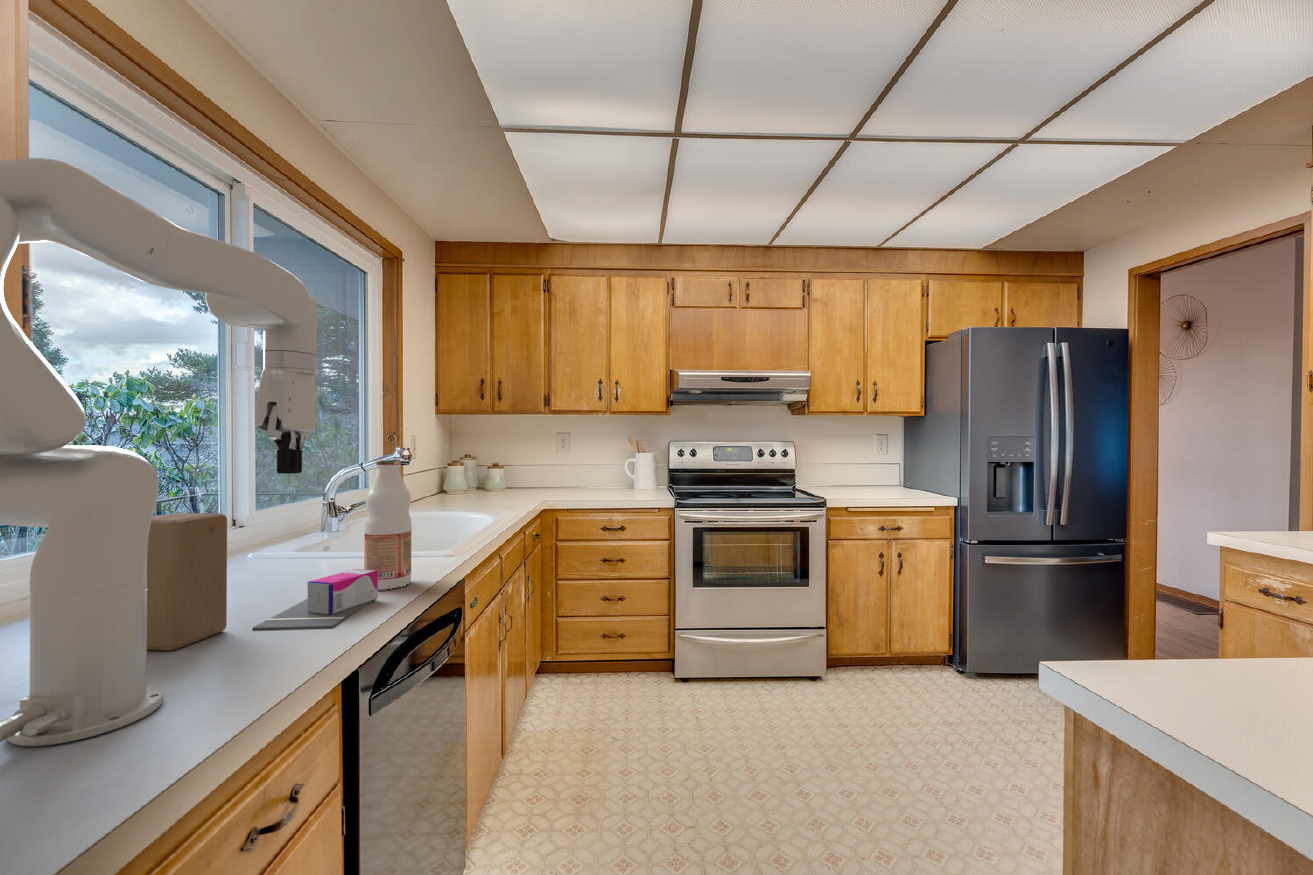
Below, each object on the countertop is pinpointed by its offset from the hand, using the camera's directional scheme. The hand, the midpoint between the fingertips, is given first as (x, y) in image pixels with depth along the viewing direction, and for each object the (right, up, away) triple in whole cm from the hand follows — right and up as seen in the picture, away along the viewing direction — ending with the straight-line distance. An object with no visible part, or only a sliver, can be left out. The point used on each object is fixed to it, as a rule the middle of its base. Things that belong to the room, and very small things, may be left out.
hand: (289, 473), depth 94 cm
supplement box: (0, -24, +8) cm, 25 cm away
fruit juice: (+2, -27, +29) cm, 40 cm away
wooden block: (-16, -27, -4) cm, 32 cm away
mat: (-1, -27, +10) cm, 29 cm away
